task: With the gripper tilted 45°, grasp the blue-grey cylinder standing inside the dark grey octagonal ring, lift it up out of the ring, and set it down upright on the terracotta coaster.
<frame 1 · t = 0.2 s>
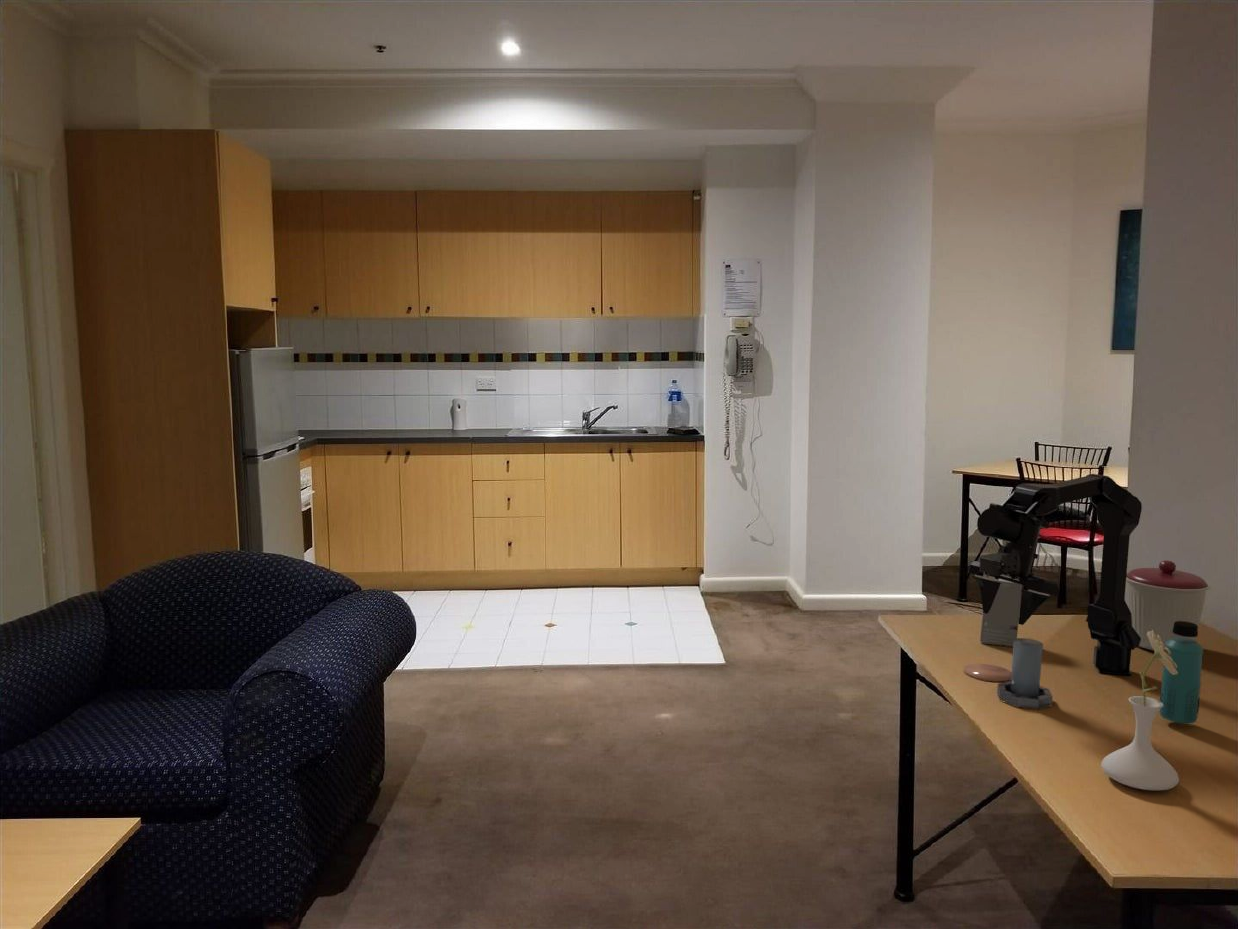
hand: (1002, 618, 198), 15 cm above the table, tool pointing down, fingers open, 9 cm apart
skincare box: (998, 642, 233), on the table
flower in vase: (1138, 780, 161), on the table
terracotta coaster: (987, 673, 211), on the table
canister: (1159, 647, 231), on the table
blue-grey cylinder: (1026, 671, 195), in the dark grey octagonal ring
dark grey octagonal ring: (1023, 699, 196), on the table
beverage bottle: (1176, 725, 184), on the table
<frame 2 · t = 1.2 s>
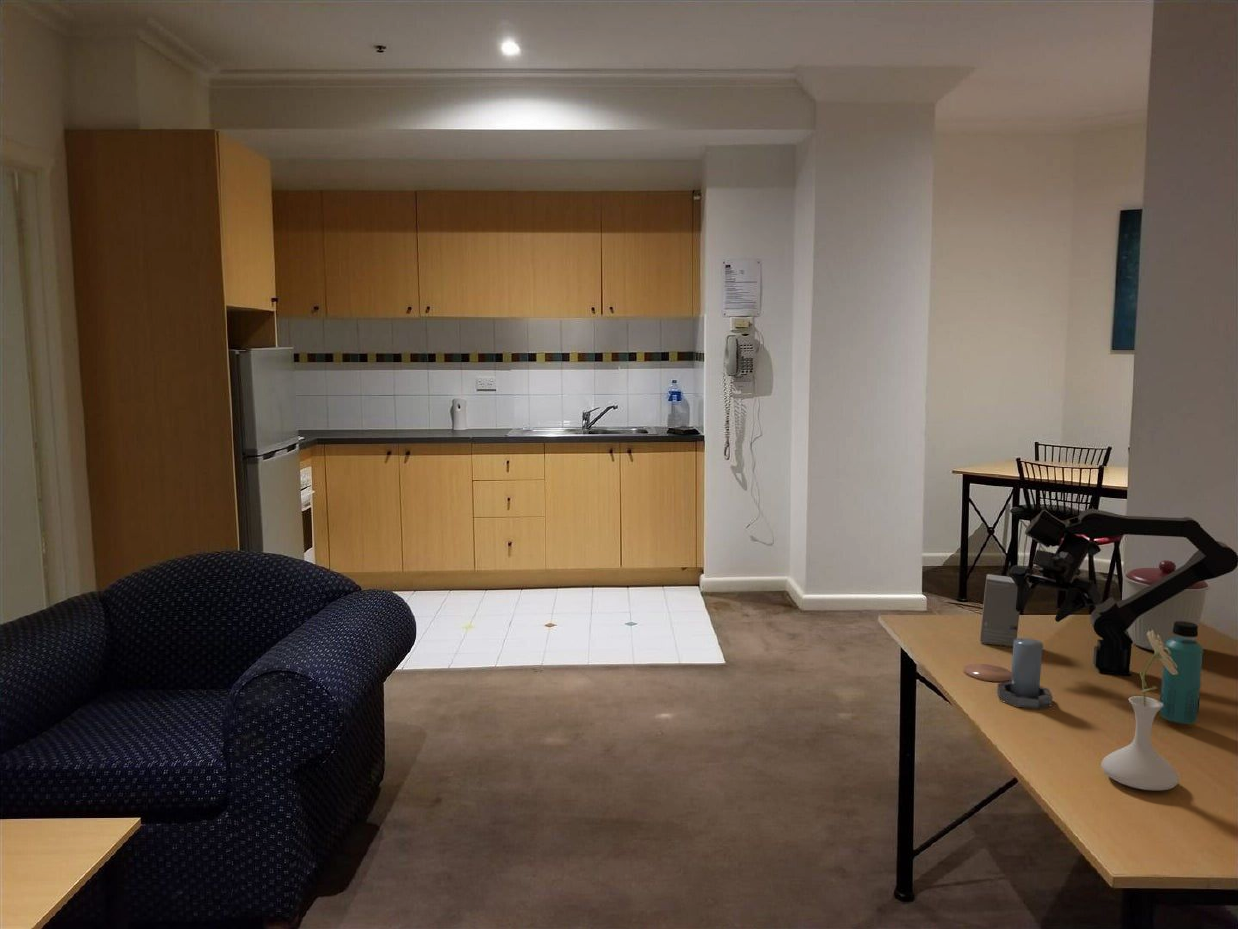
hand: (1036, 615, 208), 13 cm above the table, tool tilted 45°, fingers open, 9 cm apart
nothing on the table moved.
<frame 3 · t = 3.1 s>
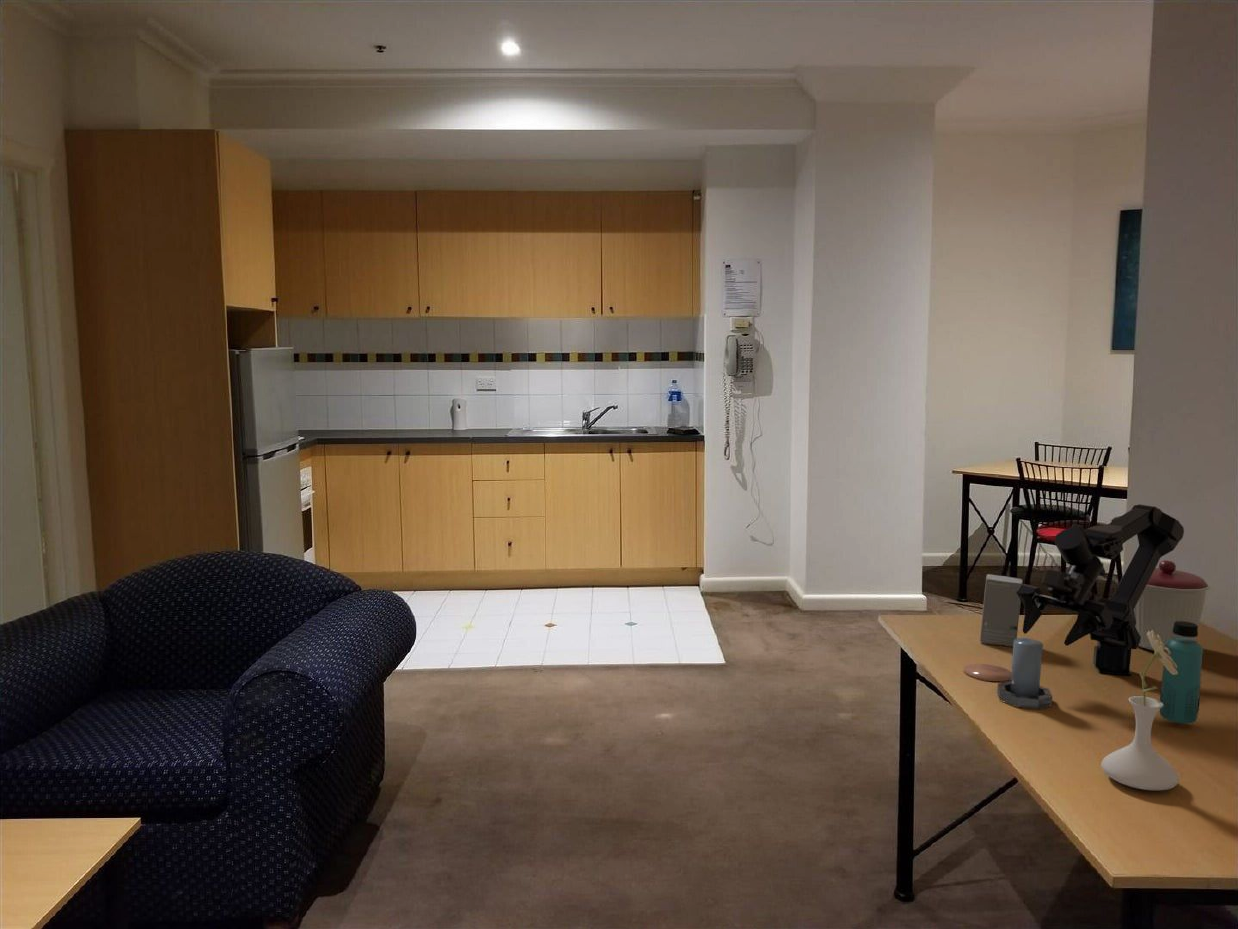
hand: (1044, 638, 197), 12 cm above the table, tool tilted 45°, fingers open, 9 cm apart
nothing on the table moved.
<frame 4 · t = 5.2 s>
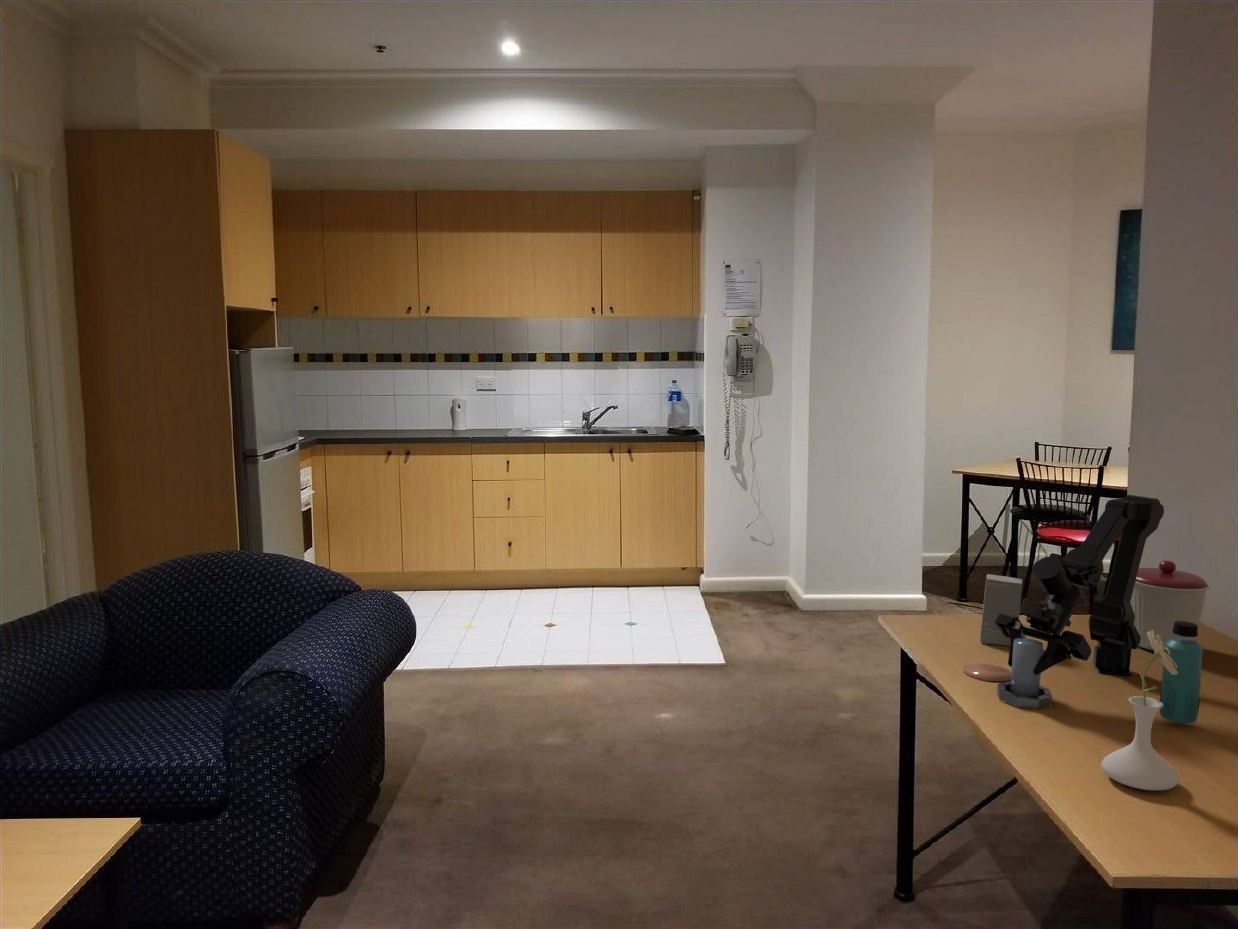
hand: (1022, 669, 194), 7 cm above the table, tool tilted 45°, fingers closed on blue-grey cylinder, 5 cm apart
blue-grey cylinder: (1026, 671, 195), in the dark grey octagonal ring, touching gripper
everything else where it was.
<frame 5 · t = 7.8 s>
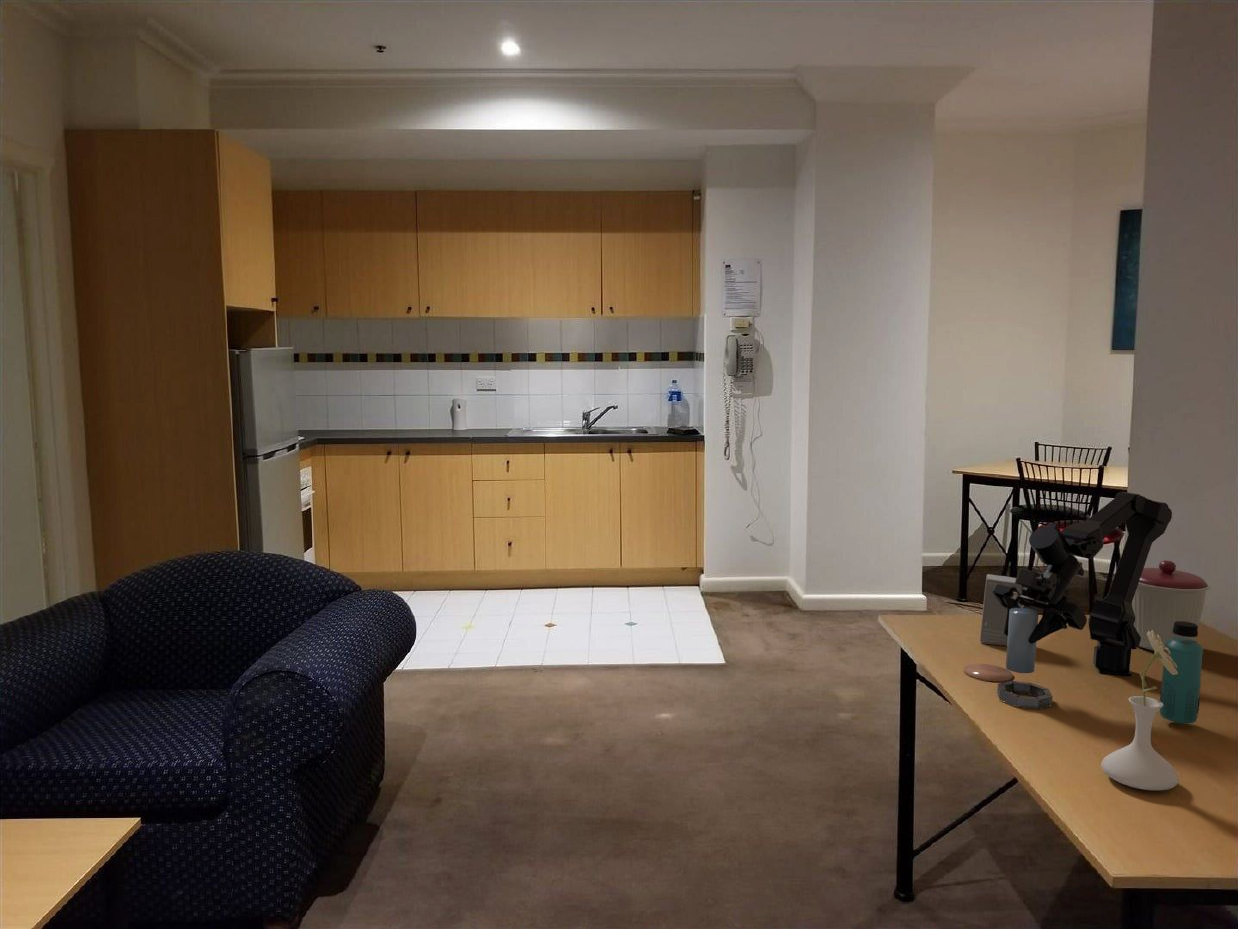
hand: (1017, 638, 195), 12 cm above the table, tool tilted 45°, fingers closed on blue-grey cylinder, 5 cm apart
blue-grey cylinder: (1021, 640, 196), point 12 cm above the table, touching gripper
everything else where it was.
when the fingers open (8 cm above the table, at t = 10.8 s): blue-grey cylinder stays where it is, resting on terracotta coaster.
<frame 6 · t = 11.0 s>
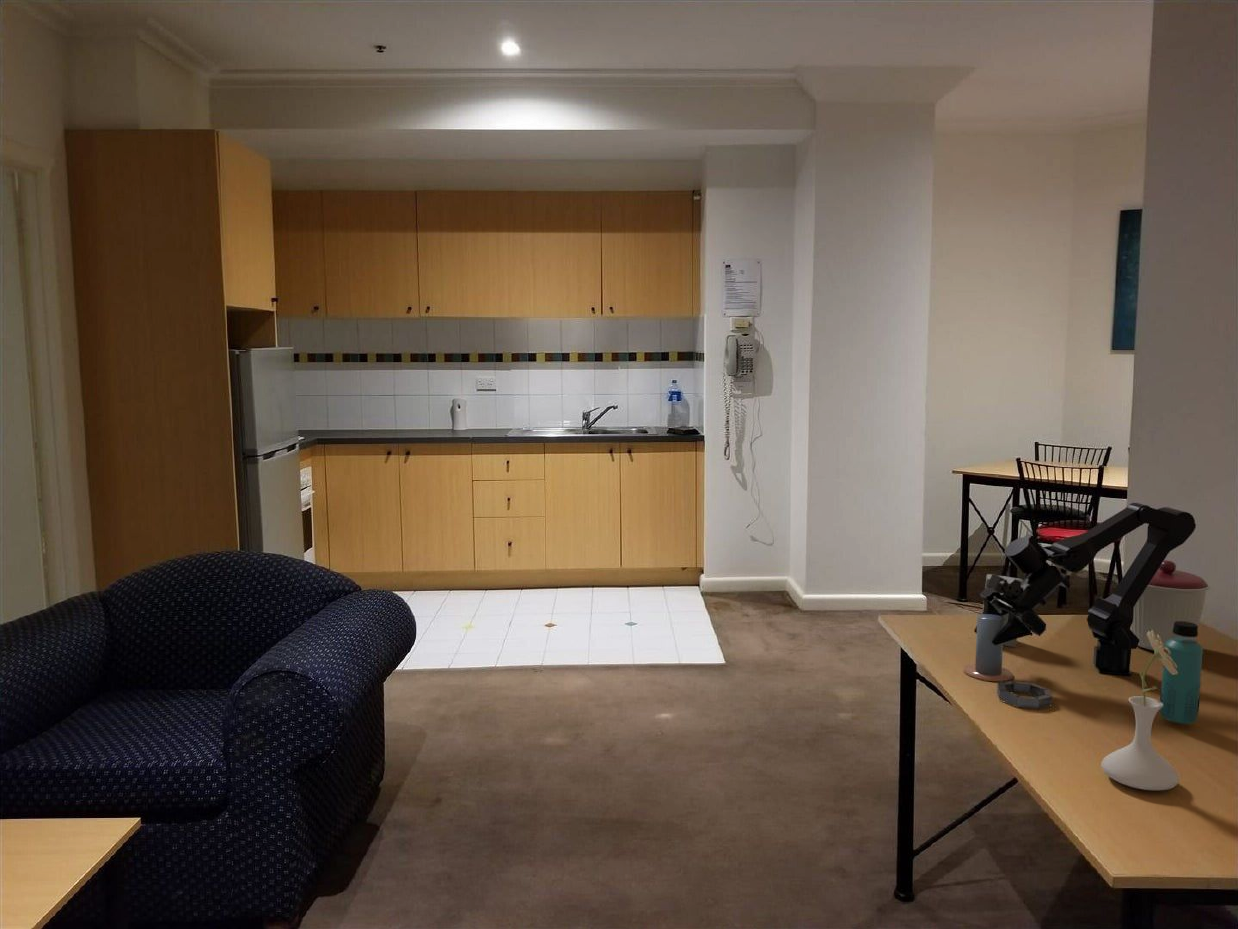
hand: (984, 638, 209), 8 cm above the table, tool tilted 45°, fingers open, 7 cm apart
blue-grey cylinder: (989, 644, 210), on the terracotta coaster
everything else where it was.
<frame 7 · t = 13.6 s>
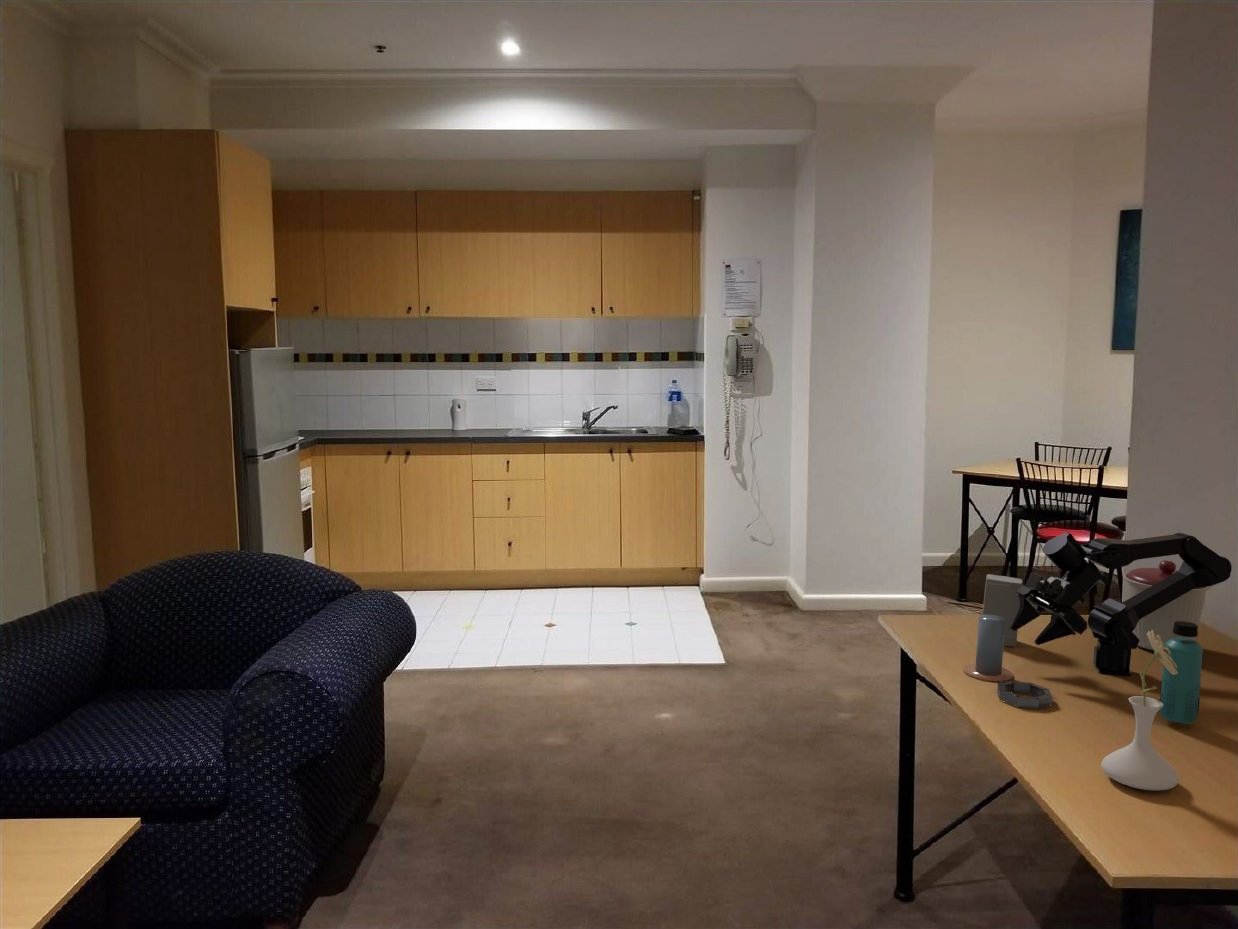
hand: (1023, 636, 210), 8 cm above the table, tool tilted 45°, fingers open, 9 cm apart
nothing on the table moved.
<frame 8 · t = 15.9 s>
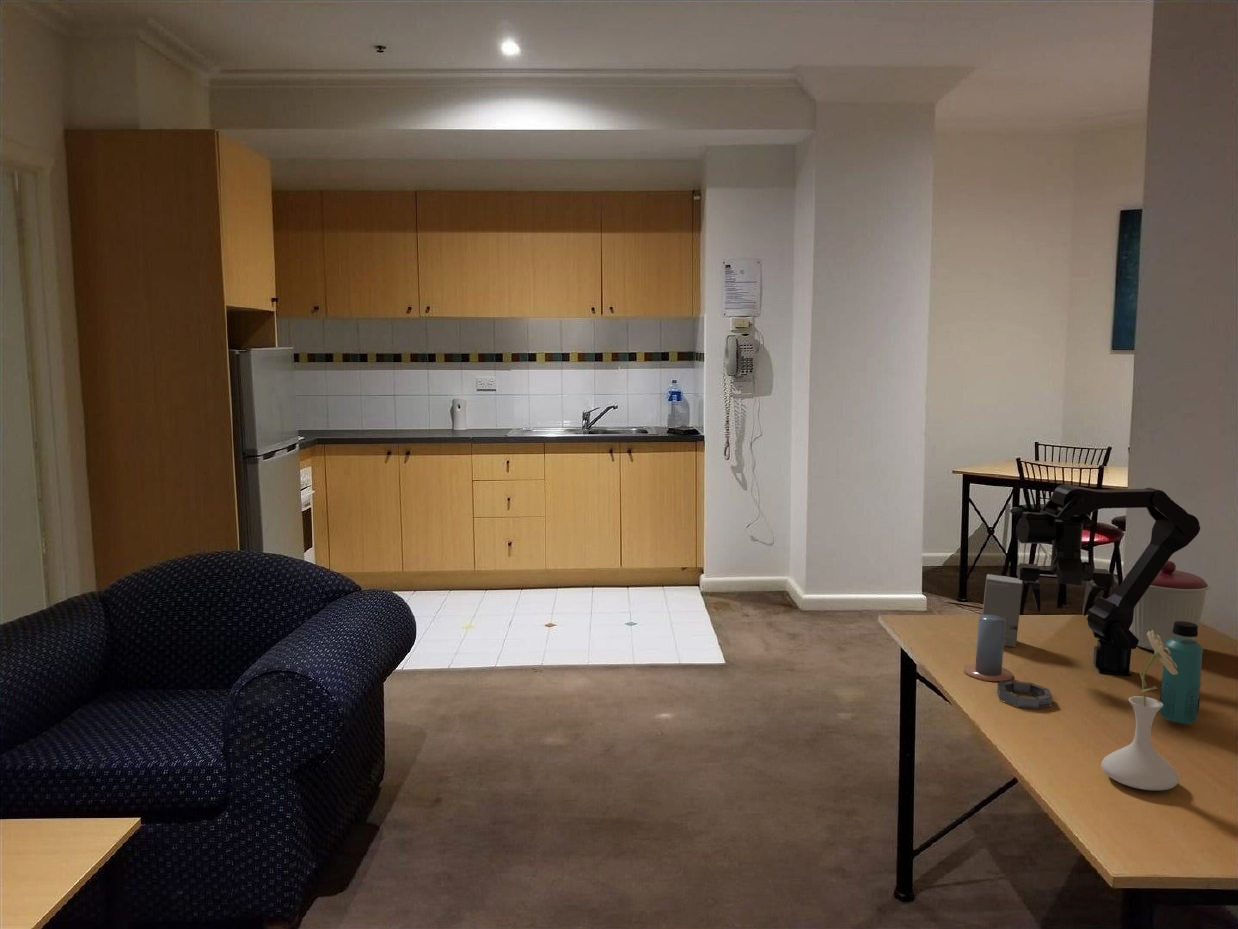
hand: (1061, 613, 212), 13 cm above the table, tool pointing down, fingers open, 9 cm apart
nothing on the table moved.
at the end: blue-grey cylinder 0.1 cm off-centre on the terracotta coaster, point 6.5 cm above the terracotta coaster's base; blue-grey cylinder tilted 0°; the gripper is holding nothing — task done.
